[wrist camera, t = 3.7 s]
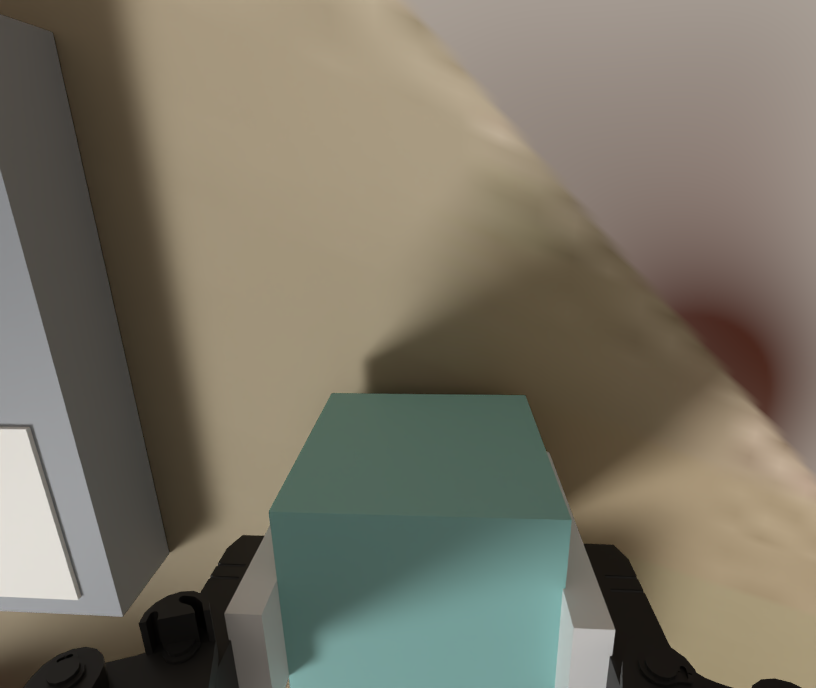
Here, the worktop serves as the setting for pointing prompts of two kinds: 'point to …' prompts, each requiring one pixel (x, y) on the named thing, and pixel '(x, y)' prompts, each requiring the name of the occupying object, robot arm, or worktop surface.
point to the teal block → (421, 546)
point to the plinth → (62, 368)
